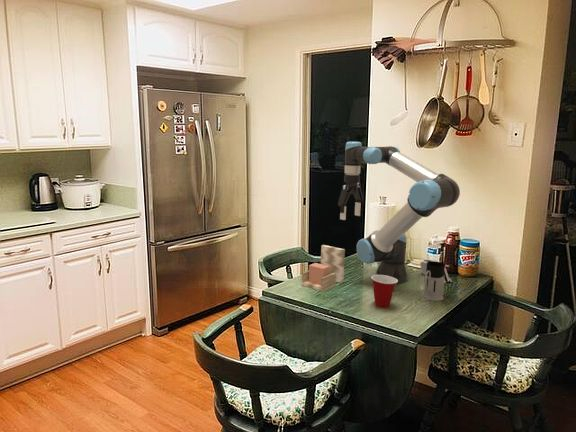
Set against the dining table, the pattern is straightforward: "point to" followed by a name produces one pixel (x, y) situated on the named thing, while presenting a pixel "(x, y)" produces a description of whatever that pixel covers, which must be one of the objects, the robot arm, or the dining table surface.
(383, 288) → the plastic cup
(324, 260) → the wooden block stack
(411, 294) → the dining table surface
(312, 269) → the rail end
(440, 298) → the glass holder
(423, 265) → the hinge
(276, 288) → the dining table surface
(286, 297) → the dining table surface
